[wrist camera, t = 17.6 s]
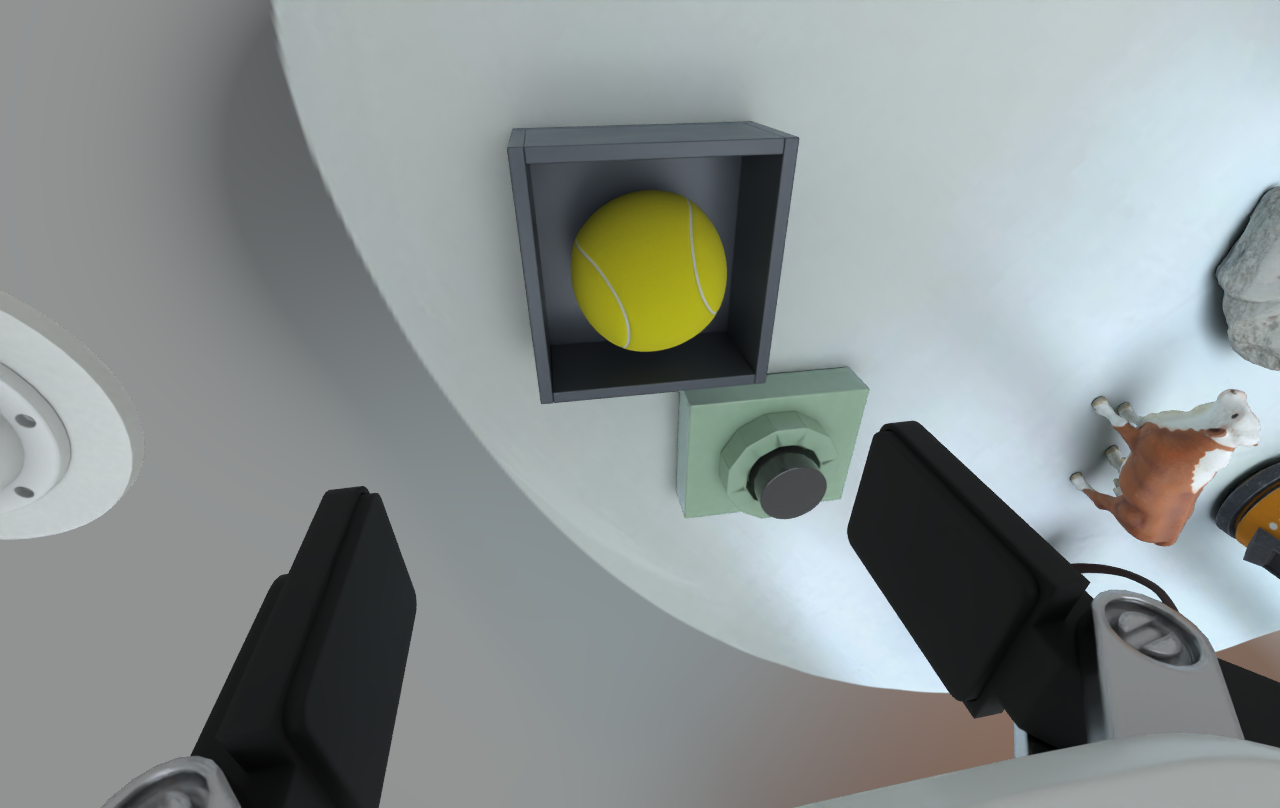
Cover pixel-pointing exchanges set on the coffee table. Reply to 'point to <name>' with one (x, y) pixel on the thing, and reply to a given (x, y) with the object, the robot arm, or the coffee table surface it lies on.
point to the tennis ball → (648, 270)
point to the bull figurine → (1170, 462)
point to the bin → (668, 161)
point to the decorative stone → (1255, 286)
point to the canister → (1255, 517)
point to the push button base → (764, 435)
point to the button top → (787, 482)
